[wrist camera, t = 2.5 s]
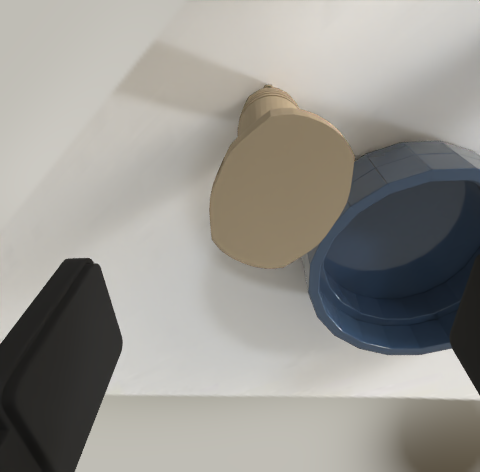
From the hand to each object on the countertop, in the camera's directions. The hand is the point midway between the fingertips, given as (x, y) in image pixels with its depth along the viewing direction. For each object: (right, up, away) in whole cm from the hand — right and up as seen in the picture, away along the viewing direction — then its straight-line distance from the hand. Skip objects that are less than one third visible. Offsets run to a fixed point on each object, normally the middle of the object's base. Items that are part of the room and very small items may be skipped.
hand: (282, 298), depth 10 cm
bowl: (+13, +2, +22) cm, 26 cm away
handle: (+1, +11, +17) cm, 21 cm away
